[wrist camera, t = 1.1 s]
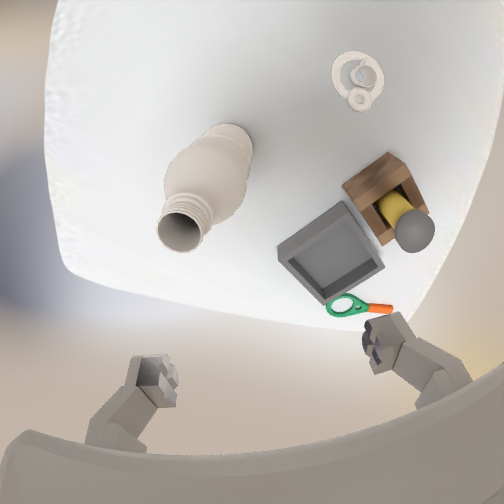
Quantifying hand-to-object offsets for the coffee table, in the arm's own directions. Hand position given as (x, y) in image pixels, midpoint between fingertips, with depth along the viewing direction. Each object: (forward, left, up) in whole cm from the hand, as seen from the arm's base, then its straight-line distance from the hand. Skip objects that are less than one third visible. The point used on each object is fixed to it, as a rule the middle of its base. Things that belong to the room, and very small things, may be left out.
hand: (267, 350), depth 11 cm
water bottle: (+3, -4, -33) cm, 33 cm away
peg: (-10, +16, -32) cm, 37 cm away
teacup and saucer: (-15, -1, -33) cm, 36 cm away
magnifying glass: (+5, +36, -33) cm, 49 cm away
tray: (+2, +20, -32) cm, 38 cm away
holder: (-10, +16, -32) cm, 37 cm away
